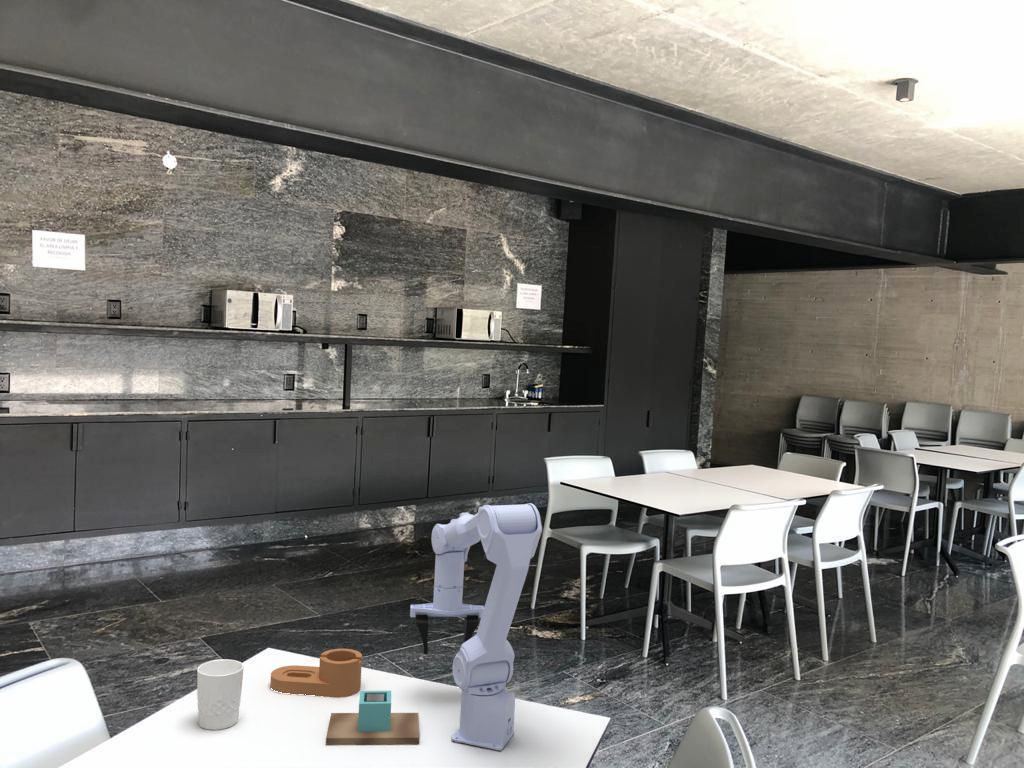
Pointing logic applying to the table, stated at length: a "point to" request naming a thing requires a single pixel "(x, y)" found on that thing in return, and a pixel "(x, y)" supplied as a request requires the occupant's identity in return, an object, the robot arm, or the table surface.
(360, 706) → the teal collar
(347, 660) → the bracket
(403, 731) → the post stand
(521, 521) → the robot arm
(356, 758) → the table surface
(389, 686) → the table surface
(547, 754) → the table surface
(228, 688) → the white cup
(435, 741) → the table surface
